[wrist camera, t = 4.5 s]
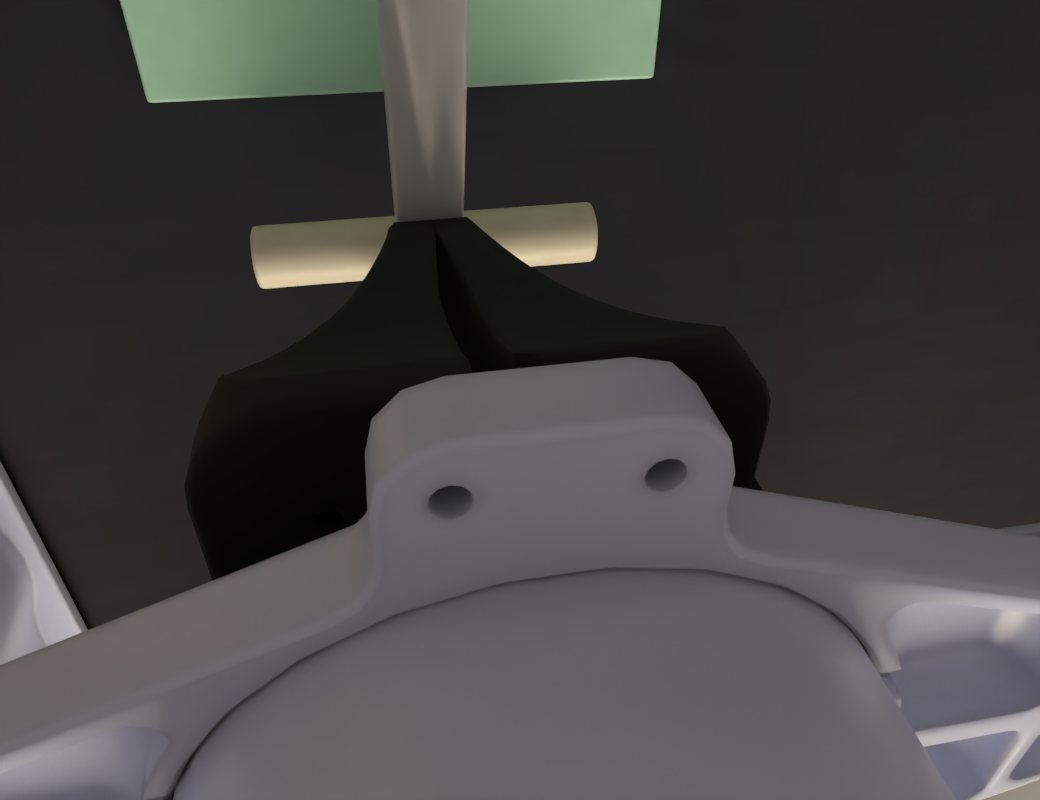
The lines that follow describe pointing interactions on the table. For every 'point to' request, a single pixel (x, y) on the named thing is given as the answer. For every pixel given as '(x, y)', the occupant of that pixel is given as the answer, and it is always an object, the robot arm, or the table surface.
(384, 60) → the lever
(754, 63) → the table surface
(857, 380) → the table surface
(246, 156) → the table surface
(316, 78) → the bracket
